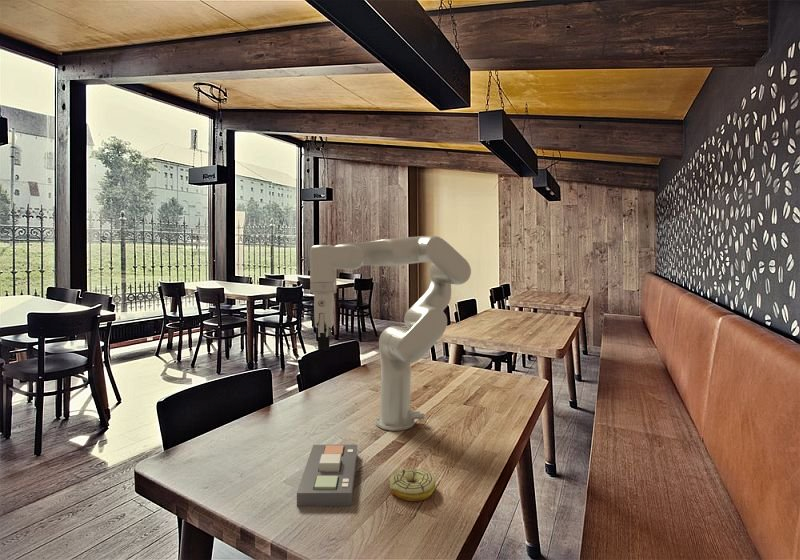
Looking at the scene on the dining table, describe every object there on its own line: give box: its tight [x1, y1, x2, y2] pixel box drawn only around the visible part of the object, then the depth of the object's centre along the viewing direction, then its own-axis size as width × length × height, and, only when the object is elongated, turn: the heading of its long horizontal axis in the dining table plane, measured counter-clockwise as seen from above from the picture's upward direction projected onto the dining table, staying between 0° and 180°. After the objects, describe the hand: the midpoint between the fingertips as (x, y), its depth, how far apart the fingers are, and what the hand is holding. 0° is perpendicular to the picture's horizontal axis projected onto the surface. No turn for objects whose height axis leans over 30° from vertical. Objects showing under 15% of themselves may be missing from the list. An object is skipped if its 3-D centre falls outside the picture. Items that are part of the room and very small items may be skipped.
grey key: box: [319, 454, 341, 472], centre depth 112 cm, size 5×5×3 cm
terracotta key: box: [324, 444, 345, 456], centre depth 120 cm, size 5×5×3 cm
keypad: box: [296, 444, 358, 507], centre depth 112 cm, size 12×24×3 cm, turn 2°
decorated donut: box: [389, 468, 436, 502], centre depth 107 cm, size 10×11×4 cm
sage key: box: [314, 476, 338, 490], centre depth 104 cm, size 5×5×3 cm
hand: (323, 349), depth 133 cm, fingers closed
